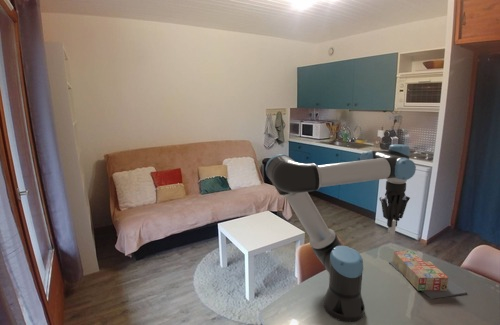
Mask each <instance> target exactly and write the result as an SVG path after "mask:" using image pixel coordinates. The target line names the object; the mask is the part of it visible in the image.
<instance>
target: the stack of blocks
mask: <svg viewBox="0 0 500 325" xmlns="http://www.w3.org/2000/svg"><path fill="white" fill-rule="evenodd" d="M392 255H393V256H392V262H393V263H394V264H395V266H396V267H397V268H398V269H399V270H400V271H401V272H402V273H403V274H404V276H405V277H404V276H403V277H404V278H406V279H407V281H408V282H409V283H411V285H412V286H413V287H414V288H415V289H416V291H418V292H419V291H421V292H422V291H425V290H428V291H447V286H448V279H449V276H447V275H446V274H445V273H444V272H443V271H442V270H440V269H439V268H438V267H437V266H436V265H435V264H434V263H433V262H431V261H430V260H429V261H424V260H423V259H422V258H421V257H420V256H419V255H417V254H416V253H415V252H414V251H413V250H404V251H401V250H399V251H397V250H396V251H393V254H392ZM423 261H424V262H423ZM449 280H450V279H449Z"/></svg>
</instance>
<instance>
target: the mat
mask: <svg viewBox="0 0 500 325" xmlns="http://www.w3.org/2000/svg"><path fill="white" fill-rule="evenodd" d="M423 262H424V260H423ZM388 264H389V265H390V266H392V267H393V268H394V269H395V270H397V271H398V272H399V274H401V275H402V276H403V277H404V278H406V277H405V276H404V274H403V273H402V272H401V271H400V270H399V269H398V268H397V267H396V266H395V264H394V263H393V261H388ZM421 292H422V294H424V295H425V296H427V297H428V298H429V299H431V300H432V299H433V300H434V299H440V298H448V297H454V296H462V295H467V294H468V292H467V291H466V290H465V289H463V288H462V287H460V286H459V285H457V284H456V283H455V282H453V281H452V280H450V279H448V286H447V291H428V290H425V291H421Z"/></svg>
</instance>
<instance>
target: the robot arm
mask: <svg viewBox="0 0 500 325" xmlns="http://www.w3.org/2000/svg"><path fill="white" fill-rule="evenodd" d="M410 155H411V148H410V146H409V145H407V144H400V143H399V144H397V143H396V144H395V143H394V144H390V145H389V147H388V149H387V150H385V149H384V150H367V151H363V152H362V153H361V154H360V157H359V160H353V161H345V162H338V163H337V162H336V163H327V164H320V165H318V164H316V163H314V162H312V163H311V162H310V163H303V162H297V161H295V160H294V159H292V158H291V157H290V156H289V155H287V154H275V155H274V156H272V157H270V158H269V159H268V161H267V162H266V165H265V174H266V176H267V178H268V179H269V181H271V183H272V185H273V186H274V188H275V189H276V191H277V193H278V194H279V196H284V197H285V199H286V200H287V201H288V204H289V205H290V207H291V208H292V210H293V212H294V213H295V216H296V217H297V219H298V221H299V222H300V223H301V225H302V227H303V228H304V230H305V232H306V233H307V235H308V237H309V238H310V239H309V245H310V247H311V248H312V251H313V253H314V255H315V256H316V257H317V258H316V259H318V260H319V262H321V264H322V265H323V267H324V269H325V270H326V271H327V273H328V275H329V278H328V288H327V290H326V292H325V295H324V296H323V308H324V310H325V312H326V313H327V314H328V315H329V316H330V317H332V318H333V319H335V320H336V321H341V322H343V323H356V322H359V321H361V320H362V319H363V317H364V316H365V310H366V309H365V308H366V307H365V304H364V299H363V296H362V283H363V282H362V281H363V271H364V260H363V257H362V254H361V253H360V252H359V251H358V250H356V249H355V248H351V246H350V247H349V246H347V245H343V244H342V242H341V241H340V238H339V237H338V235H337V233H336V232H335V230H334V229H332V228H329V227H328V225H327V224H326V222H325V220H324V219H323V217H322V215H321V213H320V211H319V210H318V208H317V206H316V204H315V203H314V201H313V199H312V197H311V196H310V194H309V192H317V191H319V190H320V188H324V187H331V186H338V185H347V184H355V183H363V182H370V181H378V180H386V182H385V193H384V196H383V197H382V196H381V197H379V201H380V203H381V210H382V217H383V218H384V219H386V220H387V222H386V226H387V233H388V234H390V235H391V236H395V235H396V228H397V227H398V222H399V221H400V219H403V217H404V213H405V210H406V208H407V205H408V202H409V200H410V199H411V197H409V196H408V195H406V190H407V183H406V182H407V181H408V180H410V179H411V178H413V177H414V175H415V174H416V171H417V166H416V164H415V162H414V161H413V160H411V159H410V158H411V156H410Z"/></svg>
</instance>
